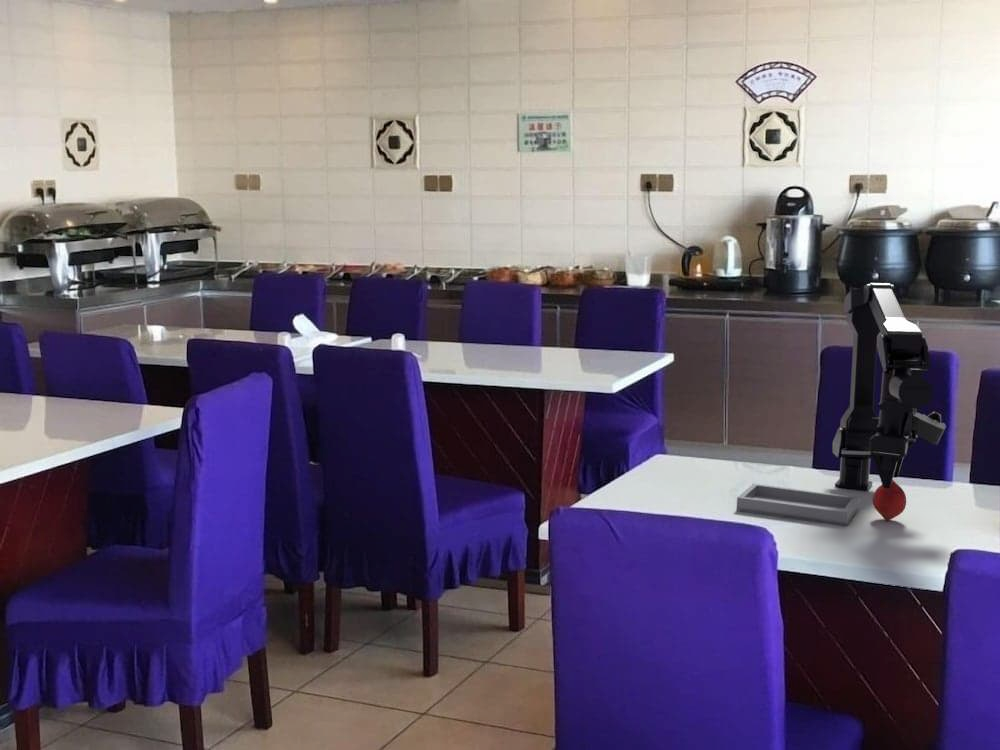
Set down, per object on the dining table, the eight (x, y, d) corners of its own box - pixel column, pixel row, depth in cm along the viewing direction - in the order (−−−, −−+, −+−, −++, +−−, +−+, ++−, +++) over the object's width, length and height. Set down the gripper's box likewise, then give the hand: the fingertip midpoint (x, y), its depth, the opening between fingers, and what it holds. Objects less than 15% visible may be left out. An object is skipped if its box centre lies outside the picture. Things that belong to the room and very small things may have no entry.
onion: (904, 517, 222) (908, 475, 221) (904, 526, 217) (907, 482, 216) (871, 514, 224) (875, 472, 223) (870, 522, 219) (873, 479, 217)
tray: (752, 496, 235) (753, 483, 235) (857, 510, 227) (858, 497, 226) (736, 510, 224) (737, 497, 224) (846, 526, 216) (847, 512, 215)
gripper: (938, 411, 205) (931, 500, 208) (950, 394, 222) (943, 477, 224) (871, 404, 210) (864, 491, 212) (887, 388, 227) (881, 469, 229)
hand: (890, 482), depth 219 cm, fingers open, 9 cm apart
